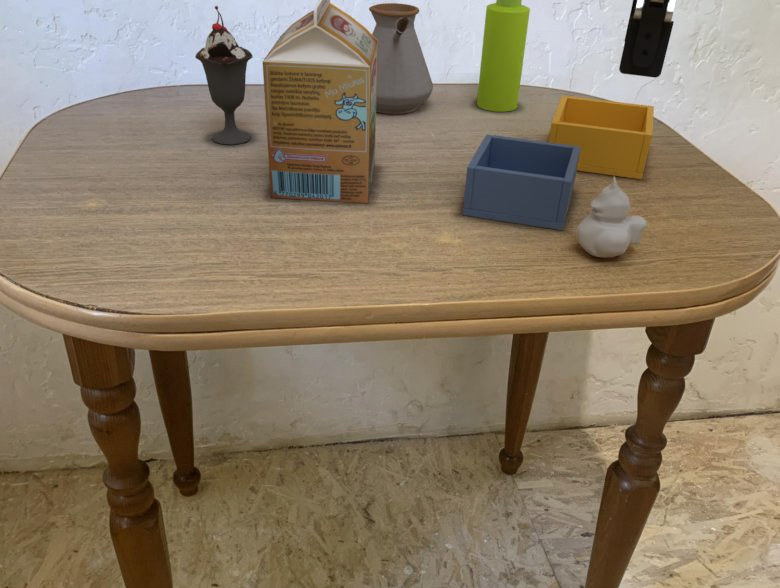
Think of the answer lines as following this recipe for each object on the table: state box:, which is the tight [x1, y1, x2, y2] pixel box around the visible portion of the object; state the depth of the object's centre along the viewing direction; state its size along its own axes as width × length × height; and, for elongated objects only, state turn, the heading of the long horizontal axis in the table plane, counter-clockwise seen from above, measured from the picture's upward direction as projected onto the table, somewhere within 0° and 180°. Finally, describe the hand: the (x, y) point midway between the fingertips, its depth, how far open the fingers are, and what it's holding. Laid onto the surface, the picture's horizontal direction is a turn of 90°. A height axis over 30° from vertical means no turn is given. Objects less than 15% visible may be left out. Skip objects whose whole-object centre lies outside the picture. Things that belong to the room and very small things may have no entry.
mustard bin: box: [547, 94, 655, 180], centre depth 96 cm, size 12×12×5 cm
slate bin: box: [462, 134, 581, 231], centre depth 83 cm, size 11×11×5 cm
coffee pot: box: [368, 2, 434, 115], centre depth 102 cm, size 21×12×15 cm, turn 4°
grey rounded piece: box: [575, 176, 648, 258], centre depth 74 cm, size 5×7×8 cm
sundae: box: [195, 5, 253, 146], centre depth 93 cm, size 7×7×15 cm
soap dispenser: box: [476, 0, 531, 113], centre depth 107 cm, size 6×7×20 cm
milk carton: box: [262, 0, 378, 204], centre depth 82 cm, size 11×11×19 cm
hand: (640, 59), depth 64 cm, fingers open, 9 cm apart
